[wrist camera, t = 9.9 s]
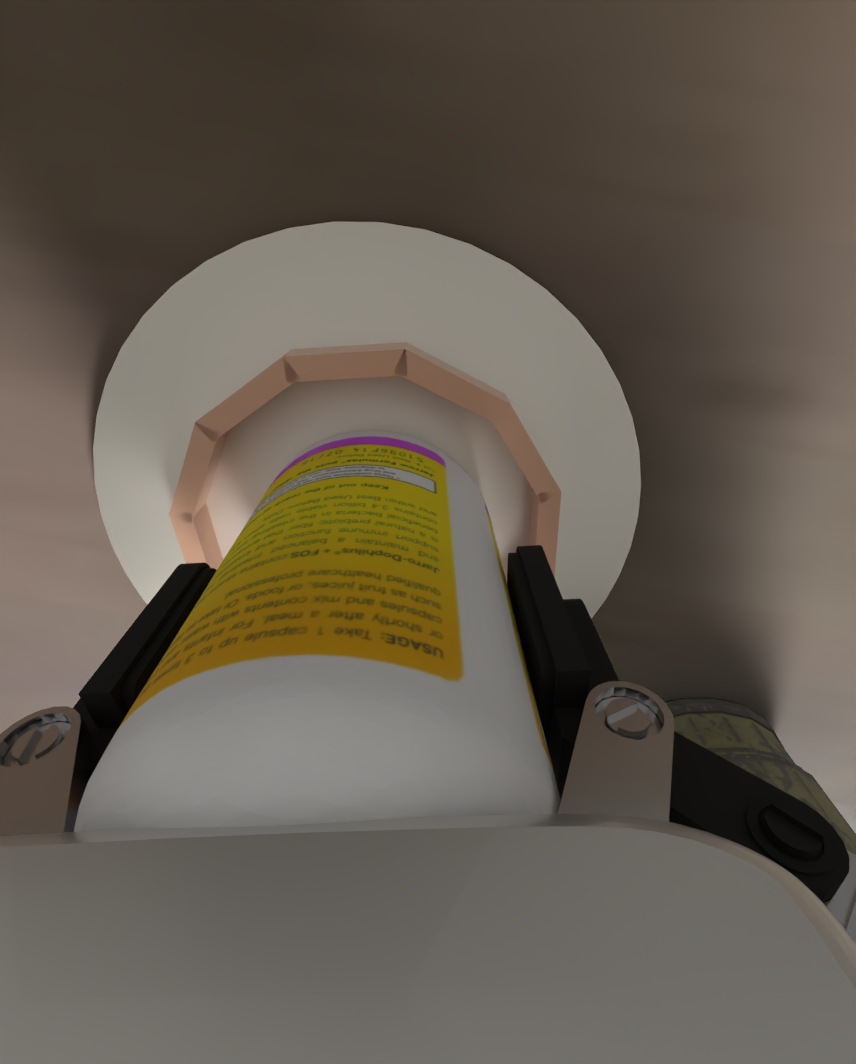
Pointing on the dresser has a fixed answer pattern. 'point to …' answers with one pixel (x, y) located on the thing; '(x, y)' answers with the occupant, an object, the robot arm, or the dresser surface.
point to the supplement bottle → (339, 663)
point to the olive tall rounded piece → (754, 752)
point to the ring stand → (364, 397)
